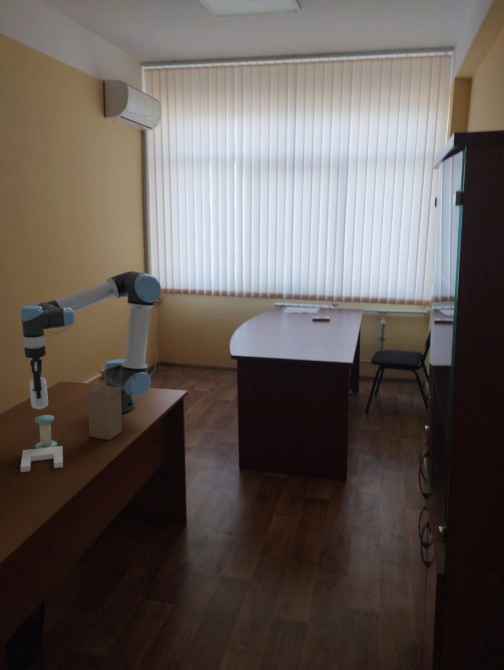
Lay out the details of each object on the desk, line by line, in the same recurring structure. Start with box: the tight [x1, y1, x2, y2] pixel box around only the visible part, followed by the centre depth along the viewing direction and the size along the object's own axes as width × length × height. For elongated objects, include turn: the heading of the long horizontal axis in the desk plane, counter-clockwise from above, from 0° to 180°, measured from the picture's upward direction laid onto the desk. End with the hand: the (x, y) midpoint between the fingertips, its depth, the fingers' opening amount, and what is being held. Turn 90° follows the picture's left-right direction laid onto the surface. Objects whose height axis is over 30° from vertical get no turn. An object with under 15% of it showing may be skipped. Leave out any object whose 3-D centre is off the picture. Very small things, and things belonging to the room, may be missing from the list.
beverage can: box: [29, 375, 49, 410], centre depth 211 cm, size 6×6×12 cm
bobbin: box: [34, 414, 58, 449], centre depth 208 cm, size 8×8×12 cm
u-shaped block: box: [20, 445, 64, 473], centre depth 198 cm, size 14×14×2 cm
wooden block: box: [87, 384, 123, 441], centre depth 220 cm, size 10×10×20 cm
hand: (39, 402), depth 212 cm, fingers closed on beverage can, 6 cm apart
